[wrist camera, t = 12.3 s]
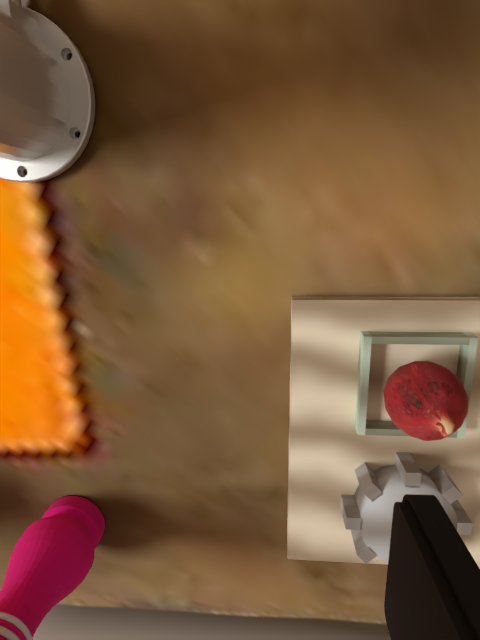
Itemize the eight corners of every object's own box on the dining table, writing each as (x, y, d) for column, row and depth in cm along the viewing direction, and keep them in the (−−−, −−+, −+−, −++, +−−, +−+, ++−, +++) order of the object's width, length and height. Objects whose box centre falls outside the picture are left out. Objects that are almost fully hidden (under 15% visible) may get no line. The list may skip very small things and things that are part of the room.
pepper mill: (124, 529, 43) (-1, 791, 23) (73, 559, 44) (-83, 827, 25) (80, 478, 41) (-90, 709, 22) (29, 510, 43) (-170, 752, 24)
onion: (359, 383, 35) (383, 431, 27) (407, 334, 33) (447, 370, 26) (409, 424, 35) (447, 482, 28) (458, 377, 34) (513, 424, 26)
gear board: (291, 296, 35) (294, 307, 31) (536, 297, 33) (575, 309, 29) (287, 546, 41) (288, 585, 37) (492, 557, 40) (518, 599, 35)
